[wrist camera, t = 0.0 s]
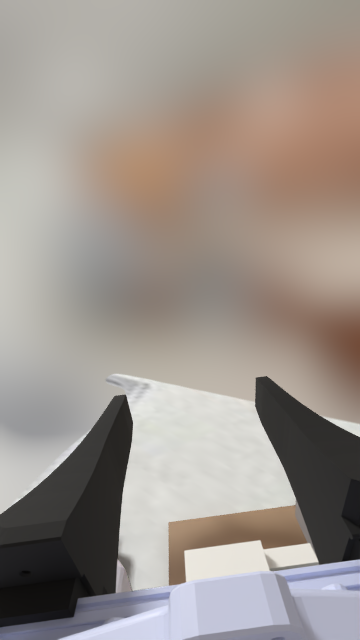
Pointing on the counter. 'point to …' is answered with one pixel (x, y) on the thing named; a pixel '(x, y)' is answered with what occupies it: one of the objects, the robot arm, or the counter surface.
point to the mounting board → (231, 534)
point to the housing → (249, 557)
